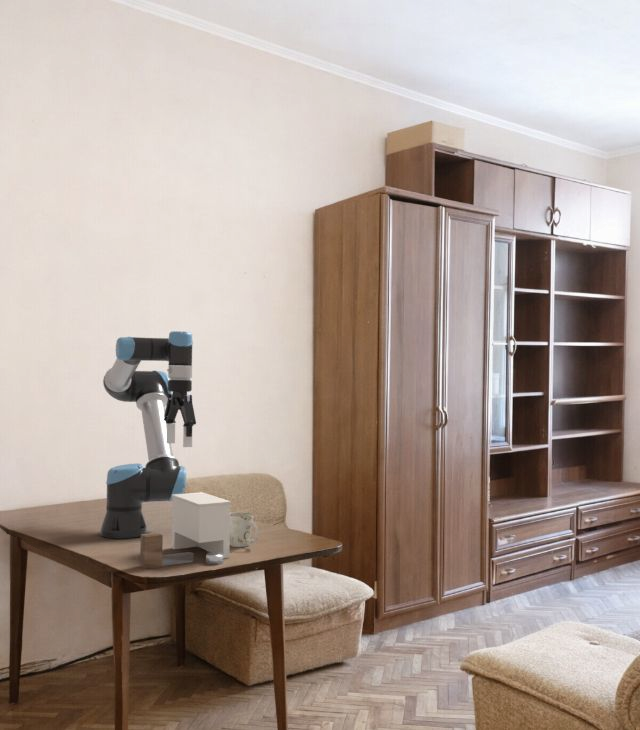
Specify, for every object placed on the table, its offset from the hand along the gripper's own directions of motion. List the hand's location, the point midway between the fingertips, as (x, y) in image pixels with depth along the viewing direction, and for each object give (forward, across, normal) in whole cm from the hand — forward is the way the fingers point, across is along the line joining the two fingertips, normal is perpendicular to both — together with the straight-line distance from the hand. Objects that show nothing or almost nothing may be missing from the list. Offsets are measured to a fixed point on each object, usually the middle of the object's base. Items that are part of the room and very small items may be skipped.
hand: (178, 445), depth 253 cm
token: (+32, +28, 0) cm, 42 cm away
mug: (+32, +14, +17) cm, 39 cm away
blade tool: (+32, +23, -13) cm, 41 cm away
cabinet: (+32, +15, +1) cm, 35 cm away
